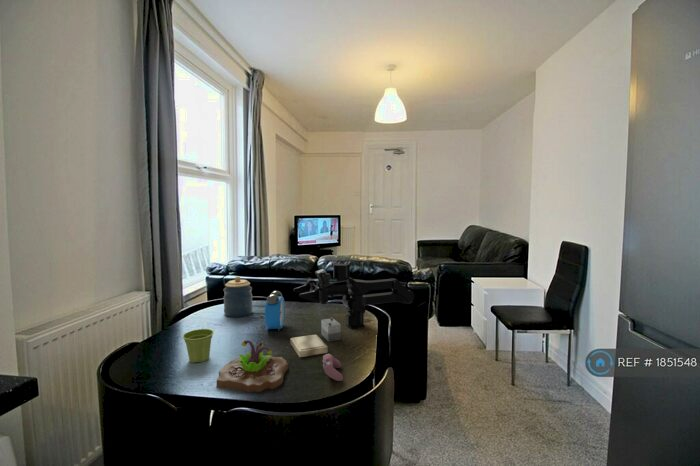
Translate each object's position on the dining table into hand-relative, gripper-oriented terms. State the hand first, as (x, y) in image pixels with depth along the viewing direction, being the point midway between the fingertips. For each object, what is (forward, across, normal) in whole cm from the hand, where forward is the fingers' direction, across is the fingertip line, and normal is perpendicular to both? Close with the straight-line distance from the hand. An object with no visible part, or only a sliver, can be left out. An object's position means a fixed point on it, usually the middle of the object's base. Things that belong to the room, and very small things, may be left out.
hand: (296, 292), depth 139 cm
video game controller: (-1, +37, +17) cm, 41 cm away
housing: (-11, +8, +17) cm, 22 cm away
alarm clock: (+7, -10, +17) cm, 21 cm away
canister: (+19, -37, +17) cm, 45 cm away
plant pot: (+36, +10, +17) cm, 41 cm away
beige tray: (0, +15, +16) cm, 22 cm away
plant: (+21, +28, +17) cm, 39 cm away
